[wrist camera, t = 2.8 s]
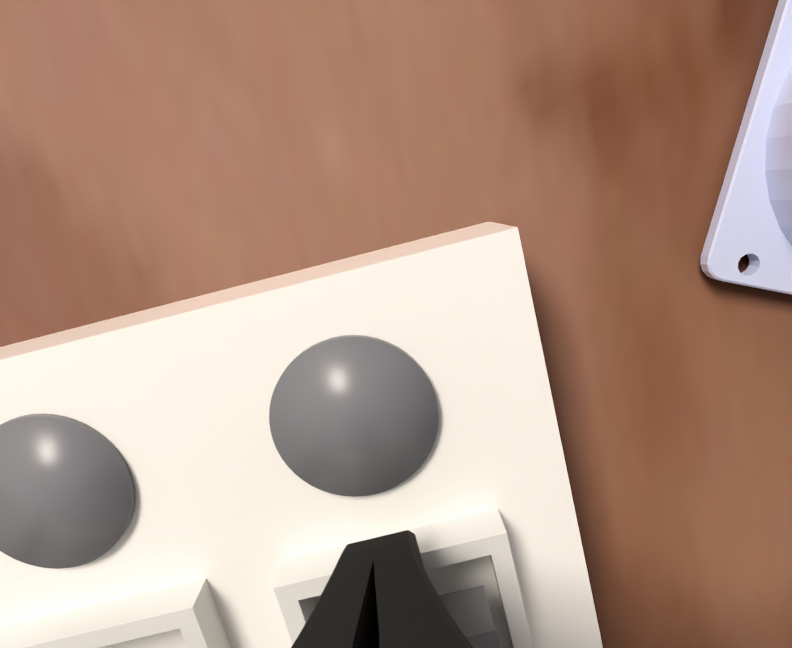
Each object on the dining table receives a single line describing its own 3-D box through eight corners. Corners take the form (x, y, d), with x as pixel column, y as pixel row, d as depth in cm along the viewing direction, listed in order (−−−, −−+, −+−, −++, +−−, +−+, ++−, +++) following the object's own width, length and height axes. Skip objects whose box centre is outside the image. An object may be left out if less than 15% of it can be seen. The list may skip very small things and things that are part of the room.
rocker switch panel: (488, 221, 14) (529, 229, 10) (582, 658, 16) (642, 797, 13) (-312, 427, 14) (-565, 509, 10) (-92, 812, 17) (-229, 988, 13)
